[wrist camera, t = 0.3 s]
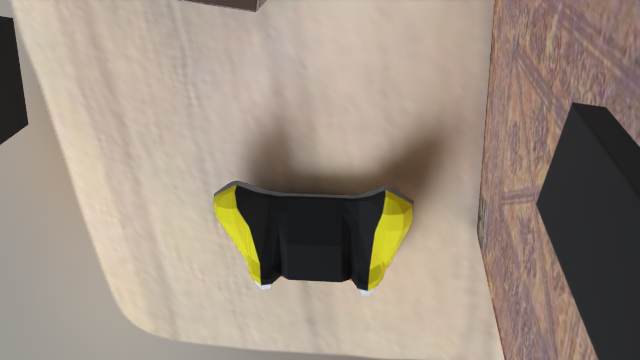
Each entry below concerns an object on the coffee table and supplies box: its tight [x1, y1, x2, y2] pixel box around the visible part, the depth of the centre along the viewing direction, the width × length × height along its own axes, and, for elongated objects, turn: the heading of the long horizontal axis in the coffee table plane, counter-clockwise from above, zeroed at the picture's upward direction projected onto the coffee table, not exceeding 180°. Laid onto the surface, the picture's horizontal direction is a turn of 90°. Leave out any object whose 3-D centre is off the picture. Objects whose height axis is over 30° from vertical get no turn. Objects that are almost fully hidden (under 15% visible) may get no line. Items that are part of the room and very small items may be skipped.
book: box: [477, 0, 640, 360], centre depth 27 cm, size 25×9×30 cm, turn 3°
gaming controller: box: [213, 181, 413, 296], centre depth 46 cm, size 15×6×10 cm
